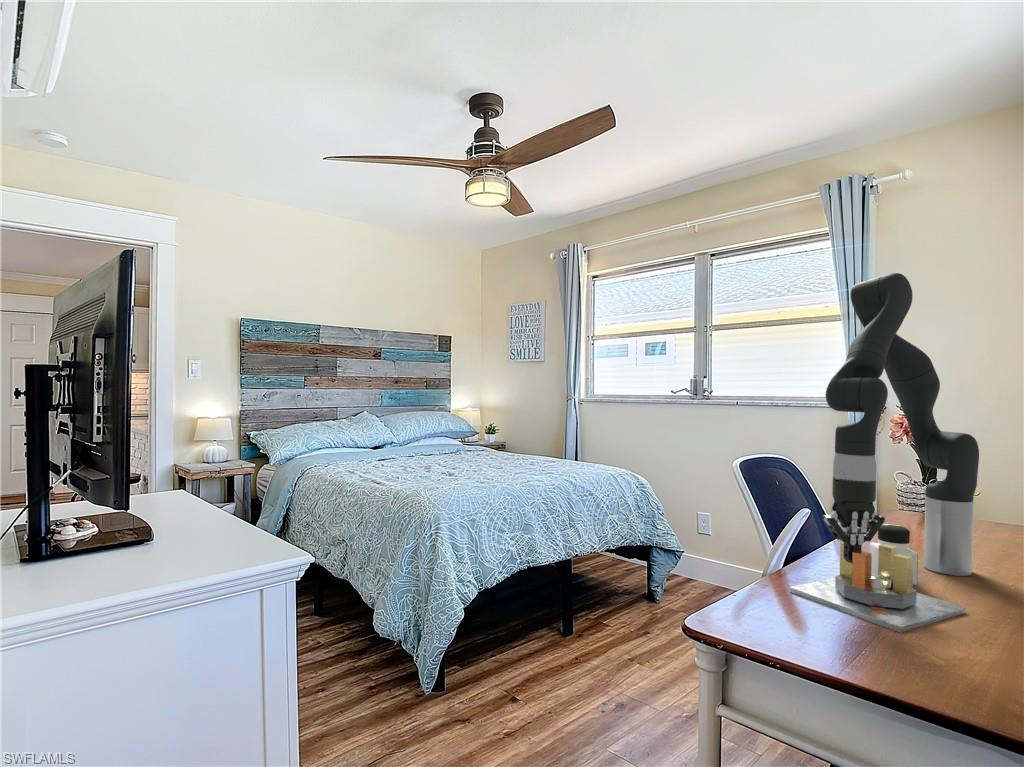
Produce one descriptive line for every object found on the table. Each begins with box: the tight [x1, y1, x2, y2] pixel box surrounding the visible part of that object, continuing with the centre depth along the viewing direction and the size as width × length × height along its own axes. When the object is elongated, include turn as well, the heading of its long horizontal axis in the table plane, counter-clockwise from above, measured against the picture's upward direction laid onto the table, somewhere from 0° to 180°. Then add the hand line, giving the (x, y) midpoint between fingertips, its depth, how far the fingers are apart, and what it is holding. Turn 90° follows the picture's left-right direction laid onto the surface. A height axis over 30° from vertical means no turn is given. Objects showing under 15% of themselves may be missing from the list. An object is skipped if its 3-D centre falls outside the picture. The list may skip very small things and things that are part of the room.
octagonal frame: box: [834, 541, 917, 609], centre depth 116 cm, size 13×13×9 cm
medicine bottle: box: [869, 523, 919, 586], centre depth 131 cm, size 7×7×12 cm
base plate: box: [789, 573, 967, 634], centre depth 116 cm, size 22×22×5 cm
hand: (852, 562), depth 116 cm, fingers closed
